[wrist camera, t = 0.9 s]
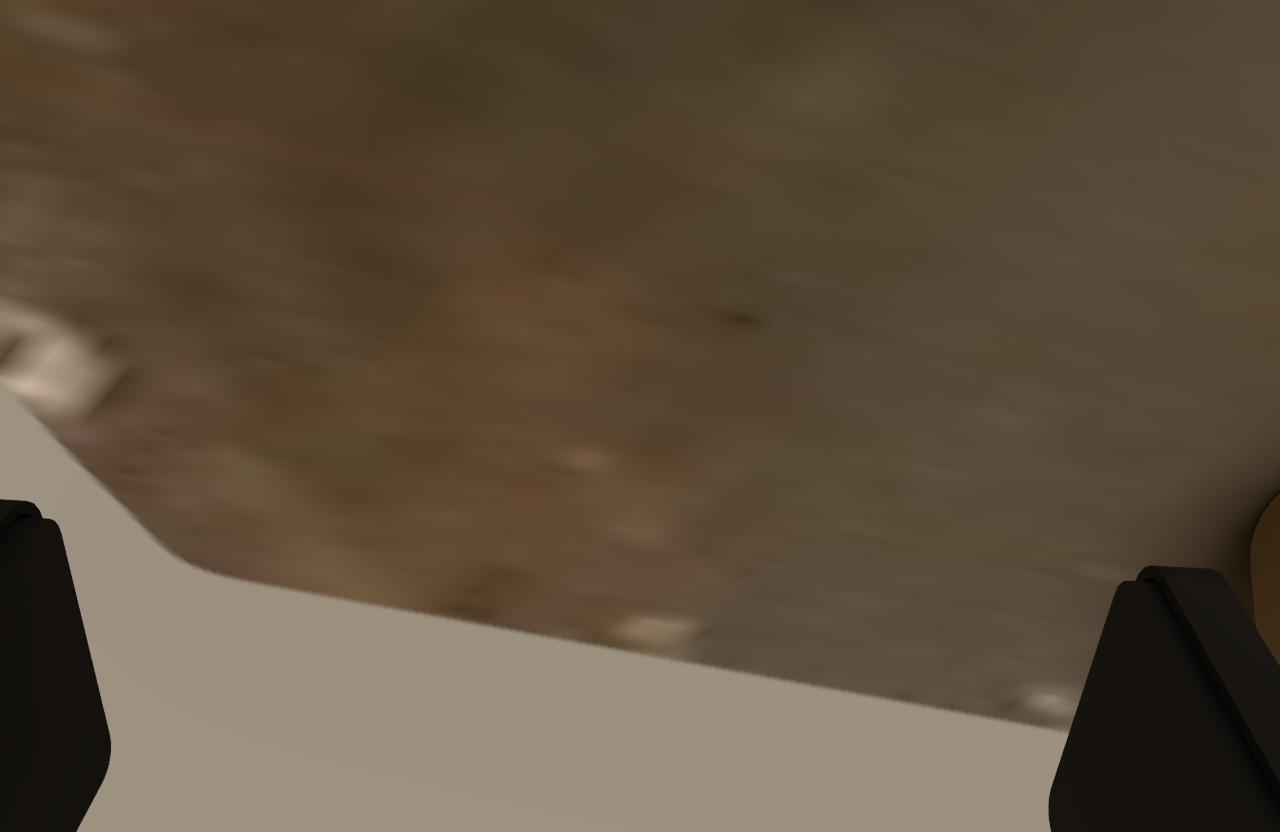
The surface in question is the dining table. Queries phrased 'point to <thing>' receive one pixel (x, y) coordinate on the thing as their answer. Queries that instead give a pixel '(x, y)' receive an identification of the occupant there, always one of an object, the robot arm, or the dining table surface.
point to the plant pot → (1267, 576)
